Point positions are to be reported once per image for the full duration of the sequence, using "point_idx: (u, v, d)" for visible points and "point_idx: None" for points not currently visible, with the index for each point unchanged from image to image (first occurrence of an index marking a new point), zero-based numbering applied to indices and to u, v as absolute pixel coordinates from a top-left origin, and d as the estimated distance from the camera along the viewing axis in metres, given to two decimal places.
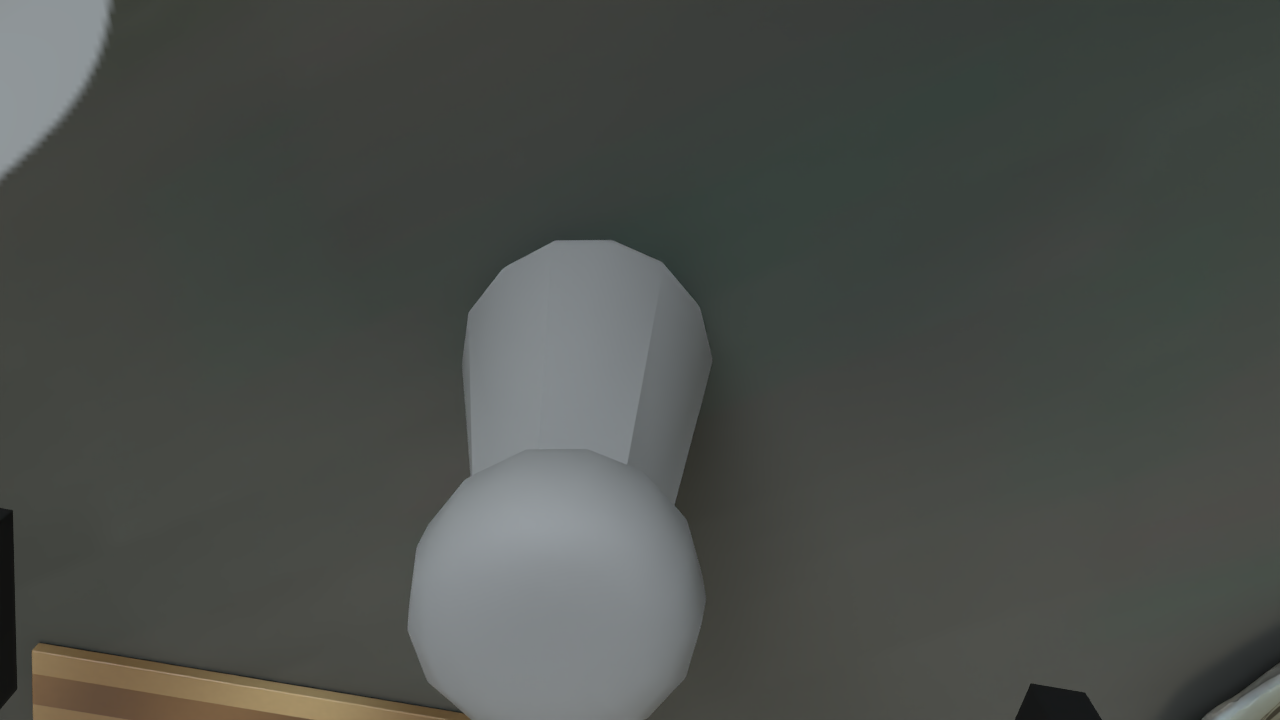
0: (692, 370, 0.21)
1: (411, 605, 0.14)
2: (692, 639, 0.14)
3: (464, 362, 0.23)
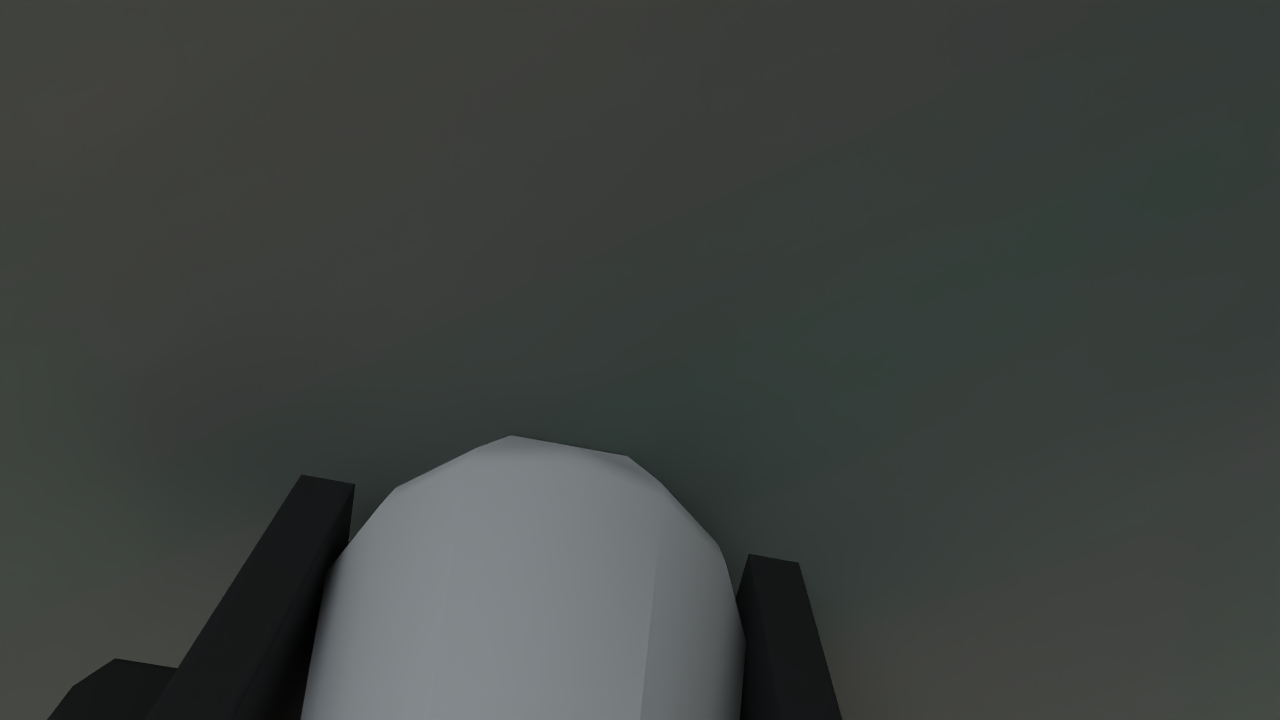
0: None
1: None
2: None
3: None
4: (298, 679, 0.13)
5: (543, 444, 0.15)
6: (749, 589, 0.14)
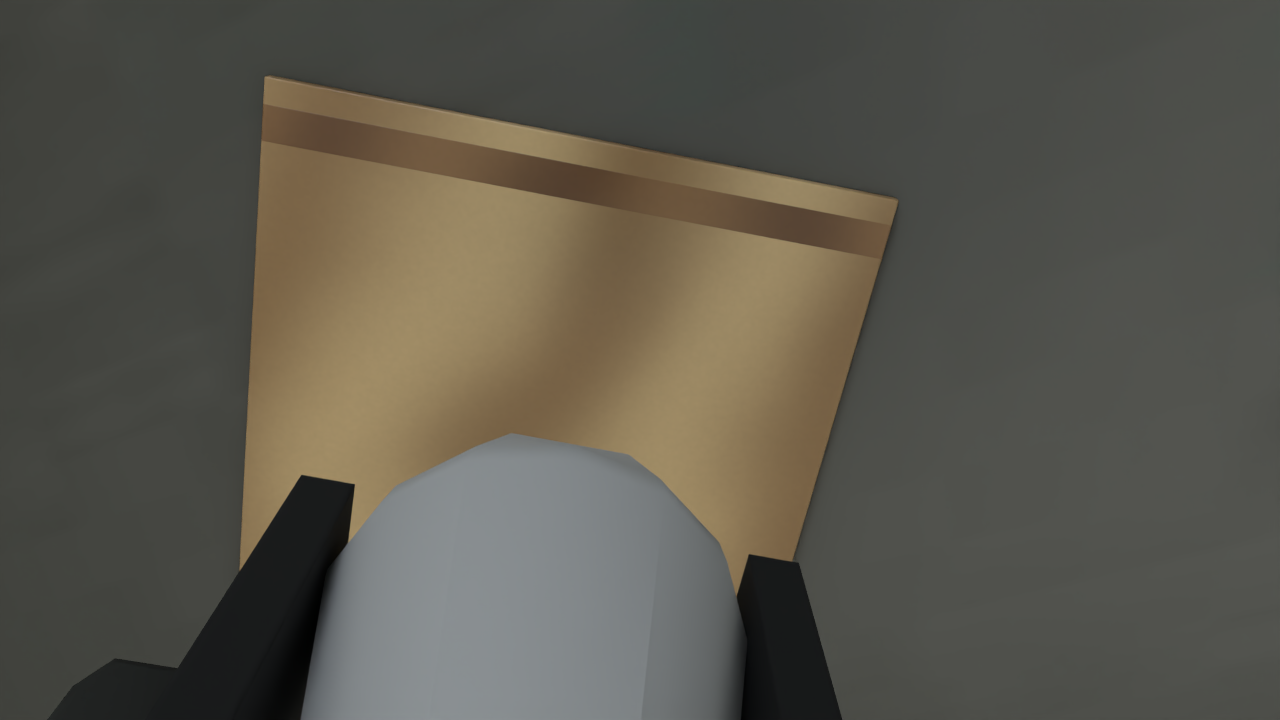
0: (719, 719, 0.11)
1: None
2: None
3: None
4: (298, 679, 0.13)
5: (544, 442, 0.15)
6: (749, 589, 0.14)
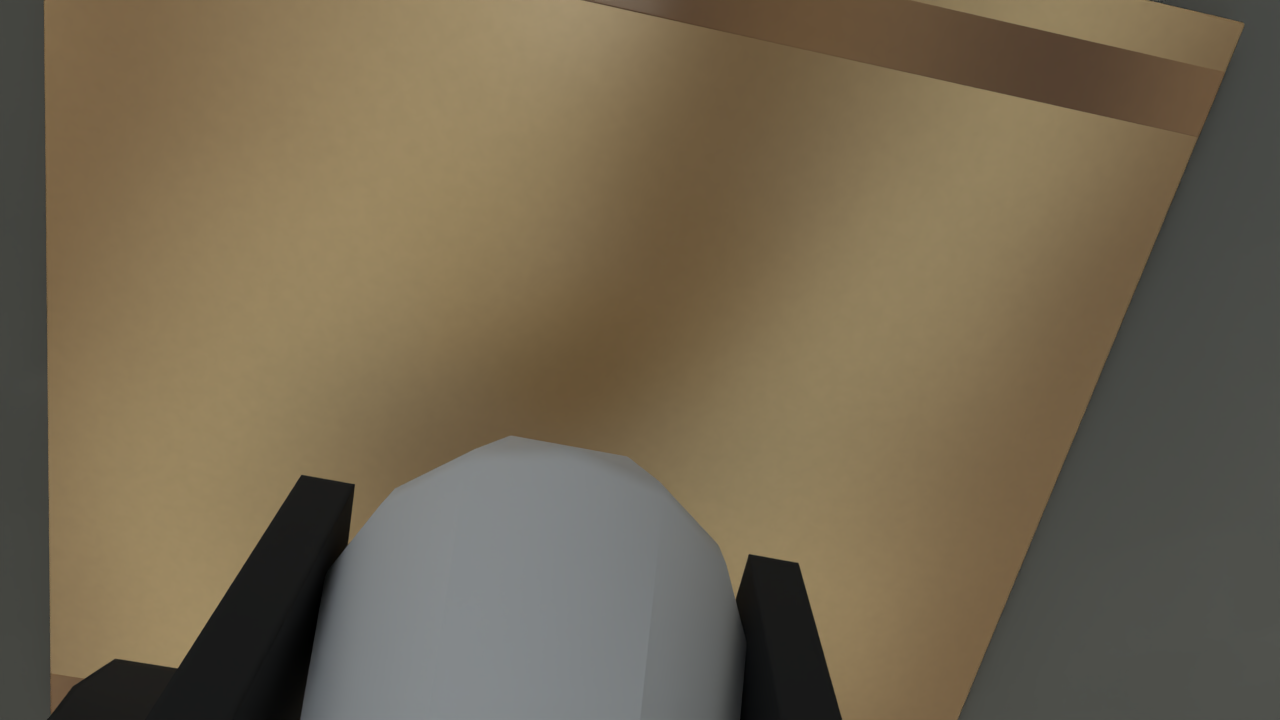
0: None
1: None
2: None
3: None
4: (298, 679, 0.13)
5: (543, 444, 0.15)
6: (749, 589, 0.14)
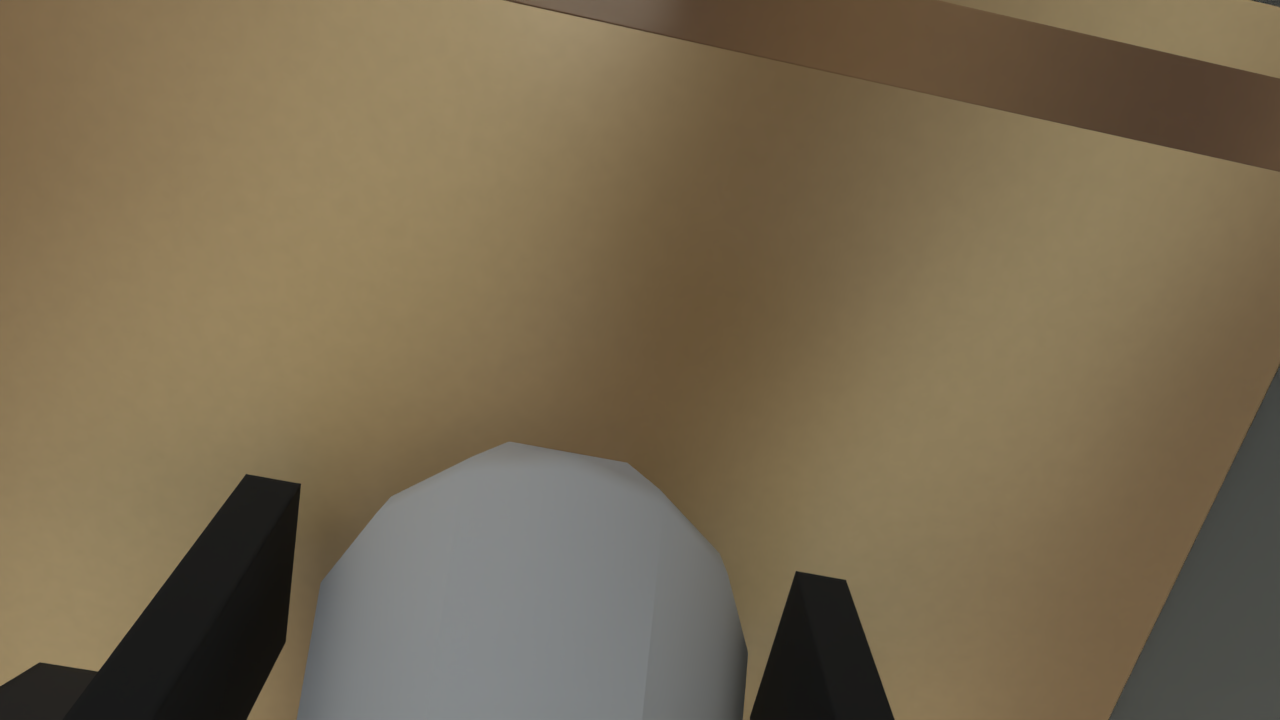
0: None
1: None
2: None
3: None
4: (237, 683, 0.12)
5: (542, 451, 0.15)
6: (798, 607, 0.14)
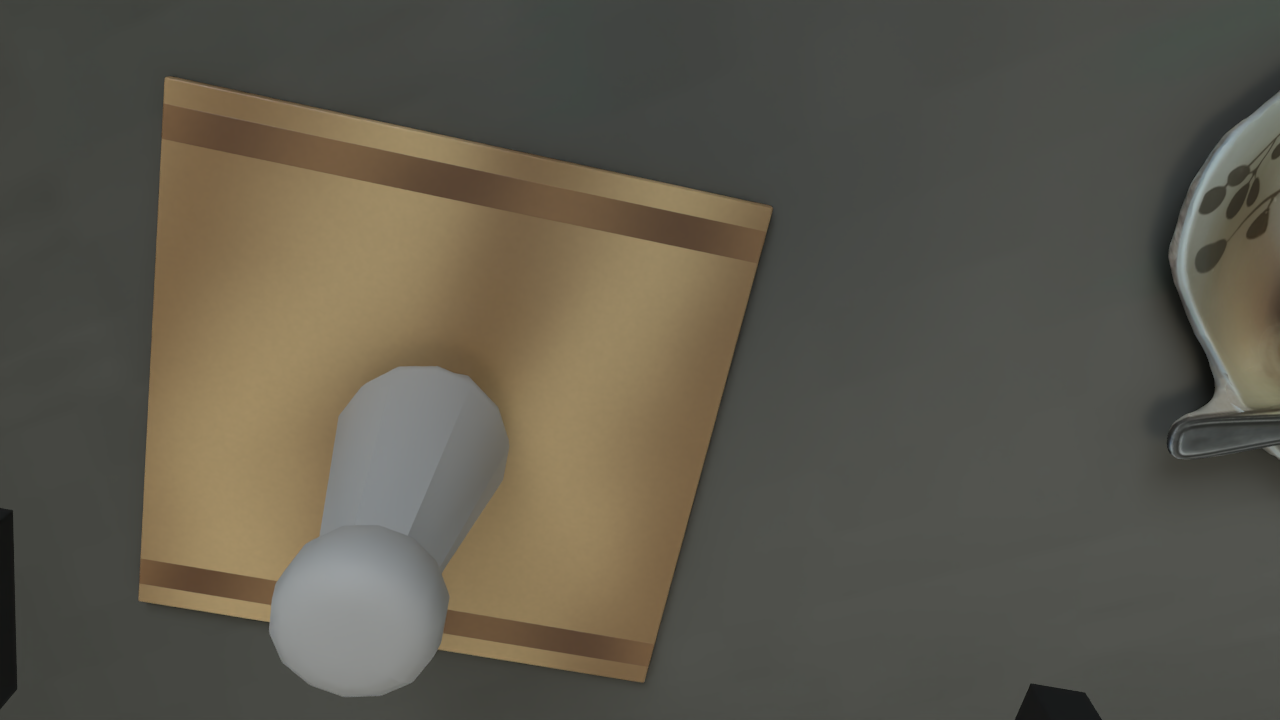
0: (482, 459, 0.31)
1: (270, 617, 0.24)
2: (433, 635, 0.24)
3: None
4: None
5: None
6: None
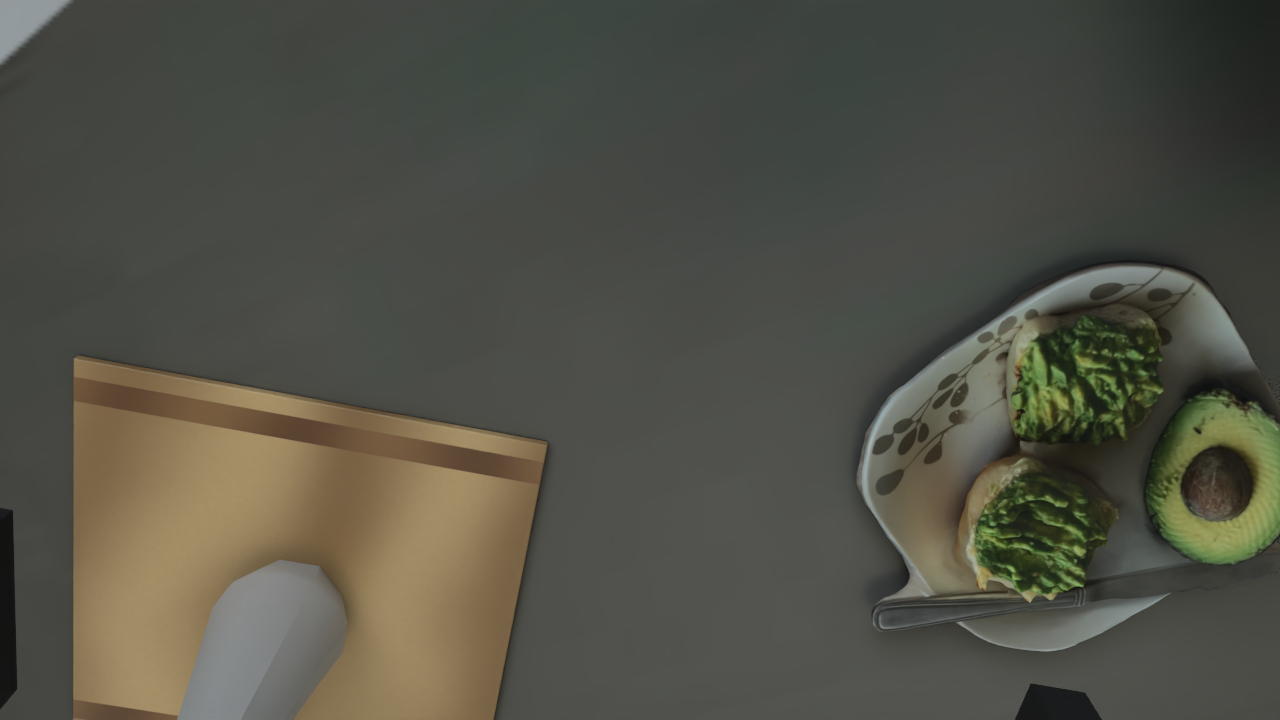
0: (314, 649, 0.41)
1: None
2: None
3: None
4: None
5: (288, 563, 0.45)
6: None
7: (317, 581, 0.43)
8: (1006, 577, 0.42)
